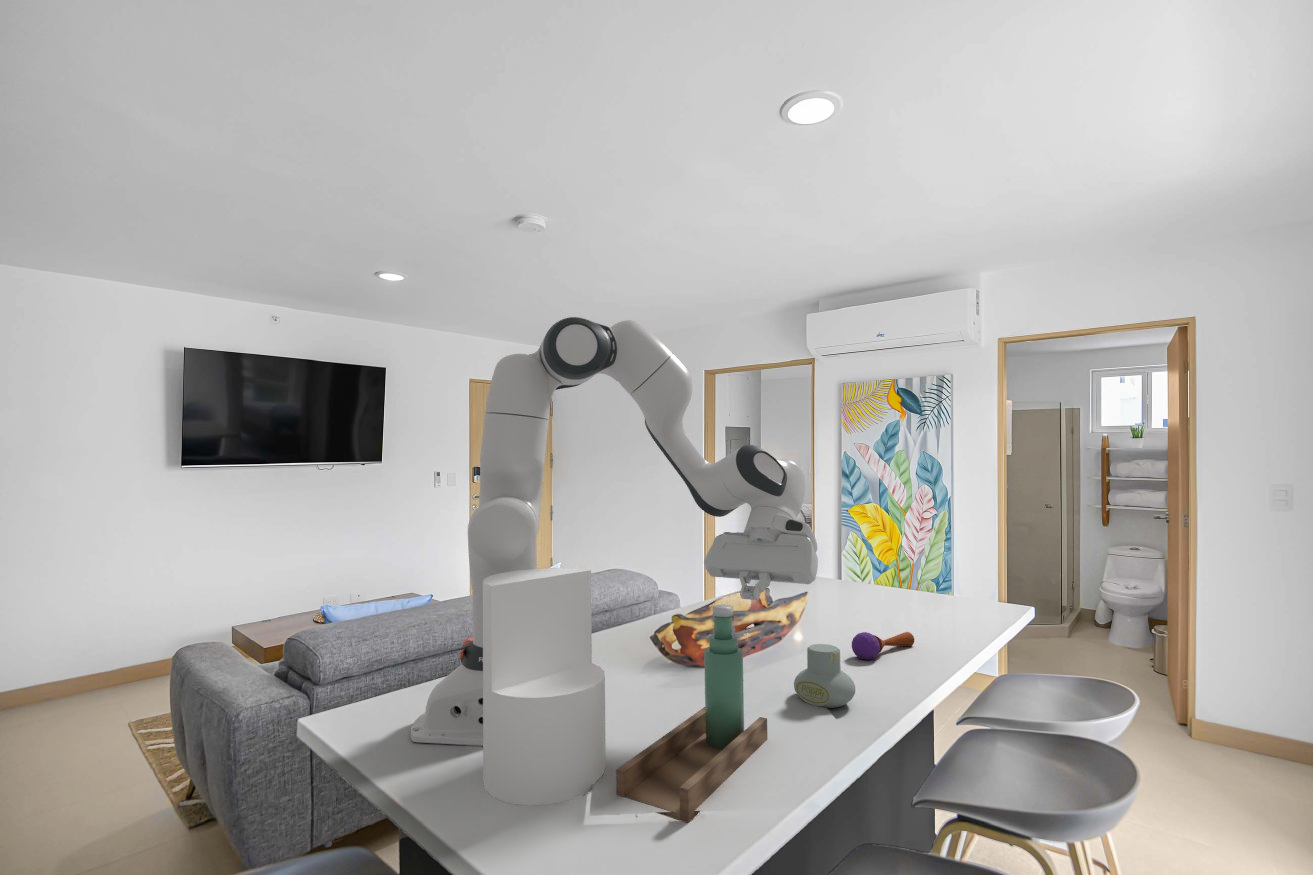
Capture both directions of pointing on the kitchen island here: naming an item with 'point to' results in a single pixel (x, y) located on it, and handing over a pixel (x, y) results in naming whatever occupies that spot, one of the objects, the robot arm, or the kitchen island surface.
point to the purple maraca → (877, 644)
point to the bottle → (723, 682)
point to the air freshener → (824, 678)
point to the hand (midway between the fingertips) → (748, 597)
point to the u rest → (685, 767)
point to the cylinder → (541, 687)
